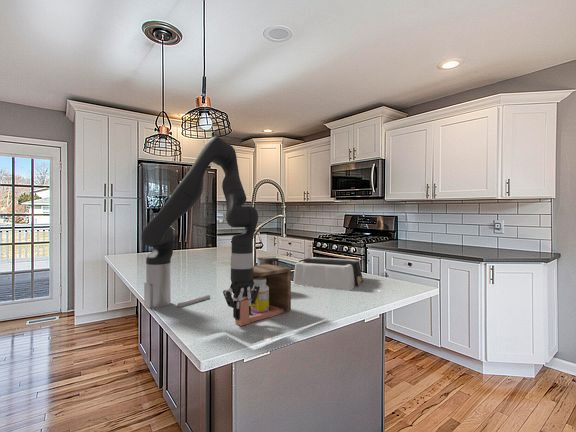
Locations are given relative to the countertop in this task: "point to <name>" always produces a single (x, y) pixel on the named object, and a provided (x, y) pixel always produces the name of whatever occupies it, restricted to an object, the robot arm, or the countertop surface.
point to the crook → (247, 319)
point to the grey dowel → (193, 301)
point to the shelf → (276, 284)
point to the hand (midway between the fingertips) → (241, 317)
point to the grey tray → (328, 273)
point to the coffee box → (268, 261)
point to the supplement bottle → (261, 297)
